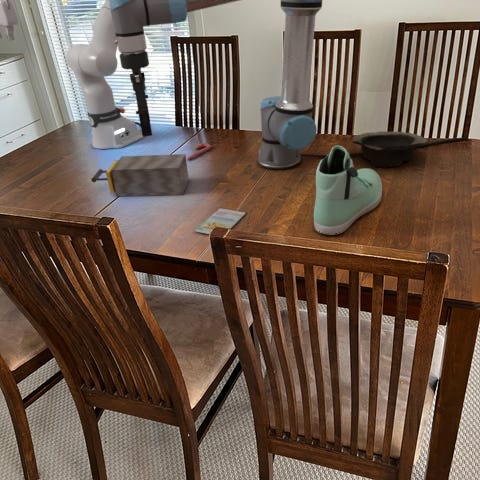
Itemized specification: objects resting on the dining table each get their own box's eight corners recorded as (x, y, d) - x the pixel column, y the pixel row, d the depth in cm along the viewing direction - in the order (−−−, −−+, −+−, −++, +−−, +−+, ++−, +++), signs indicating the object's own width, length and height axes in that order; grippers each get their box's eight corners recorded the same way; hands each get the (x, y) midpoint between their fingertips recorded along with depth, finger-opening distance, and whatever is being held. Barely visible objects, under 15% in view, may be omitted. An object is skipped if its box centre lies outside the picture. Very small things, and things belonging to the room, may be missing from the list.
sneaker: (389, 187, 148) (396, 123, 138) (356, 242, 123) (361, 168, 112) (346, 181, 154) (350, 119, 144) (306, 232, 129) (307, 161, 118)
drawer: (92, 193, 158) (87, 173, 154) (102, 180, 167) (98, 160, 163) (172, 191, 155) (168, 170, 151) (178, 178, 164) (175, 157, 160)
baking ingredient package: (194, 230, 133) (219, 207, 144) (194, 231, 133) (219, 208, 144) (222, 235, 129) (246, 211, 141) (222, 237, 129) (246, 213, 141)
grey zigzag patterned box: (117, 196, 157) (111, 169, 152) (127, 181, 167) (121, 156, 162) (182, 194, 155) (178, 167, 150) (188, 179, 164) (185, 154, 159)
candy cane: (177, 158, 182) (177, 154, 181) (202, 145, 192) (201, 141, 191) (189, 161, 179) (189, 157, 178) (214, 147, 189) (213, 144, 188)
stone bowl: (385, 177, 154) (386, 150, 149) (337, 159, 174) (336, 134, 170) (441, 159, 162) (444, 132, 158) (389, 143, 183) (390, 119, 178)
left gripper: (15, -9, 148) (28, 39, 155) (-13, -9, 160) (1, 36, 168) (-5, -6, 144) (10, 42, 151) (-32, -6, 157) (-17, 39, 164)
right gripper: (119, 46, 139) (133, 117, 150) (118, 61, 118) (134, 144, 129) (145, 43, 140) (157, 114, 151) (148, 58, 119) (162, 140, 130)
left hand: (5, 39), depth 160 cm, fingers open, 8 cm apart
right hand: (146, 128), depth 140 cm, fingers open, 13 cm apart
